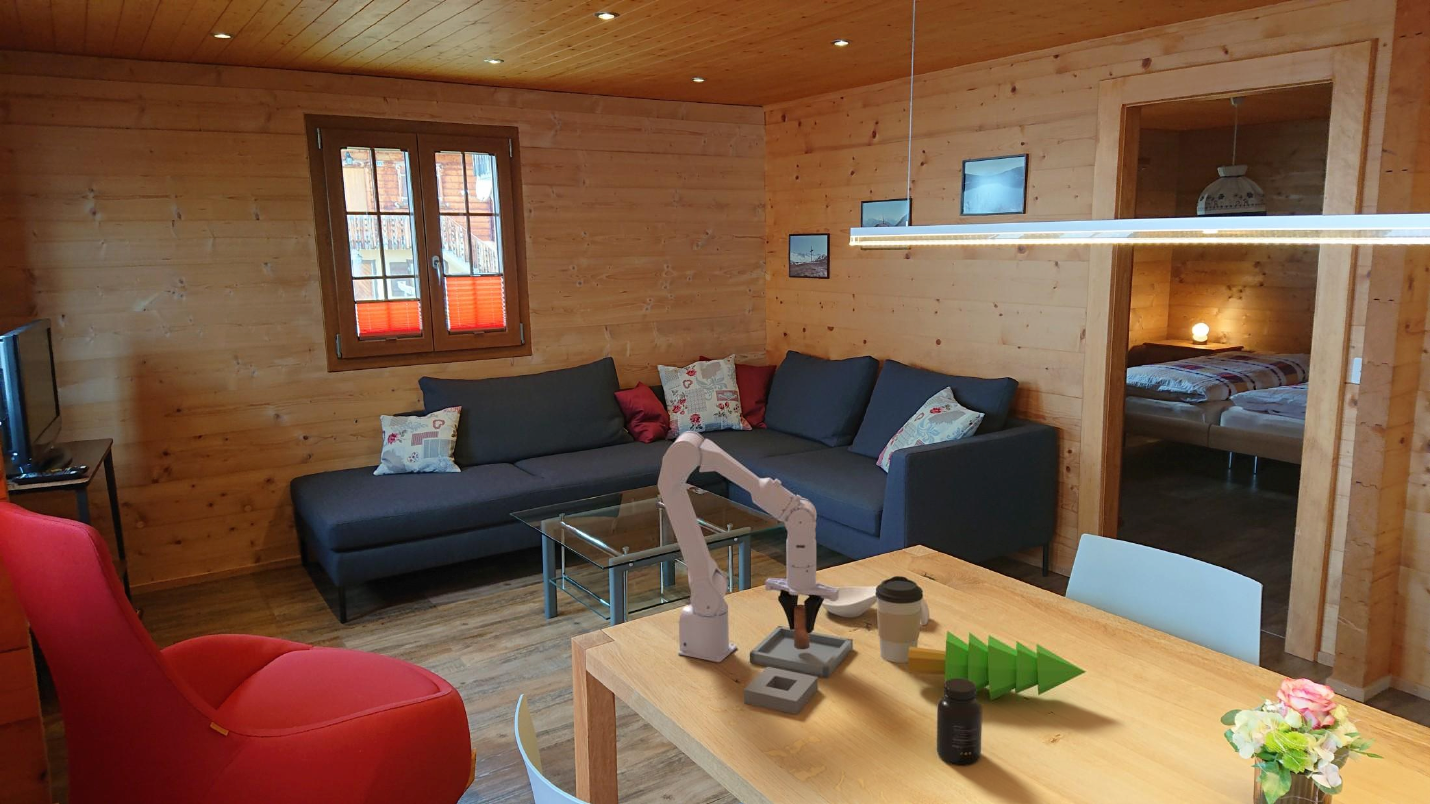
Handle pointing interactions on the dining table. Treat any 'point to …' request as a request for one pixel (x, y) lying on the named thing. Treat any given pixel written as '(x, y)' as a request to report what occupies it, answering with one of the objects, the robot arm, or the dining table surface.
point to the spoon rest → (861, 602)
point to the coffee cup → (898, 617)
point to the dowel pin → (800, 628)
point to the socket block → (781, 690)
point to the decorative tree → (994, 665)
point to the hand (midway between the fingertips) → (801, 629)
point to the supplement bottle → (959, 723)
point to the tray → (802, 652)
